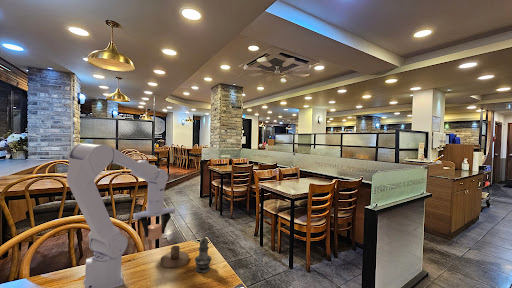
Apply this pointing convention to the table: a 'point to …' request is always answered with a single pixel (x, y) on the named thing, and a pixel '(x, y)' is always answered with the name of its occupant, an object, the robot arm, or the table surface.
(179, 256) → the post stand
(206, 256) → the dark grey chess piece
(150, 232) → the cap
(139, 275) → the table surface
